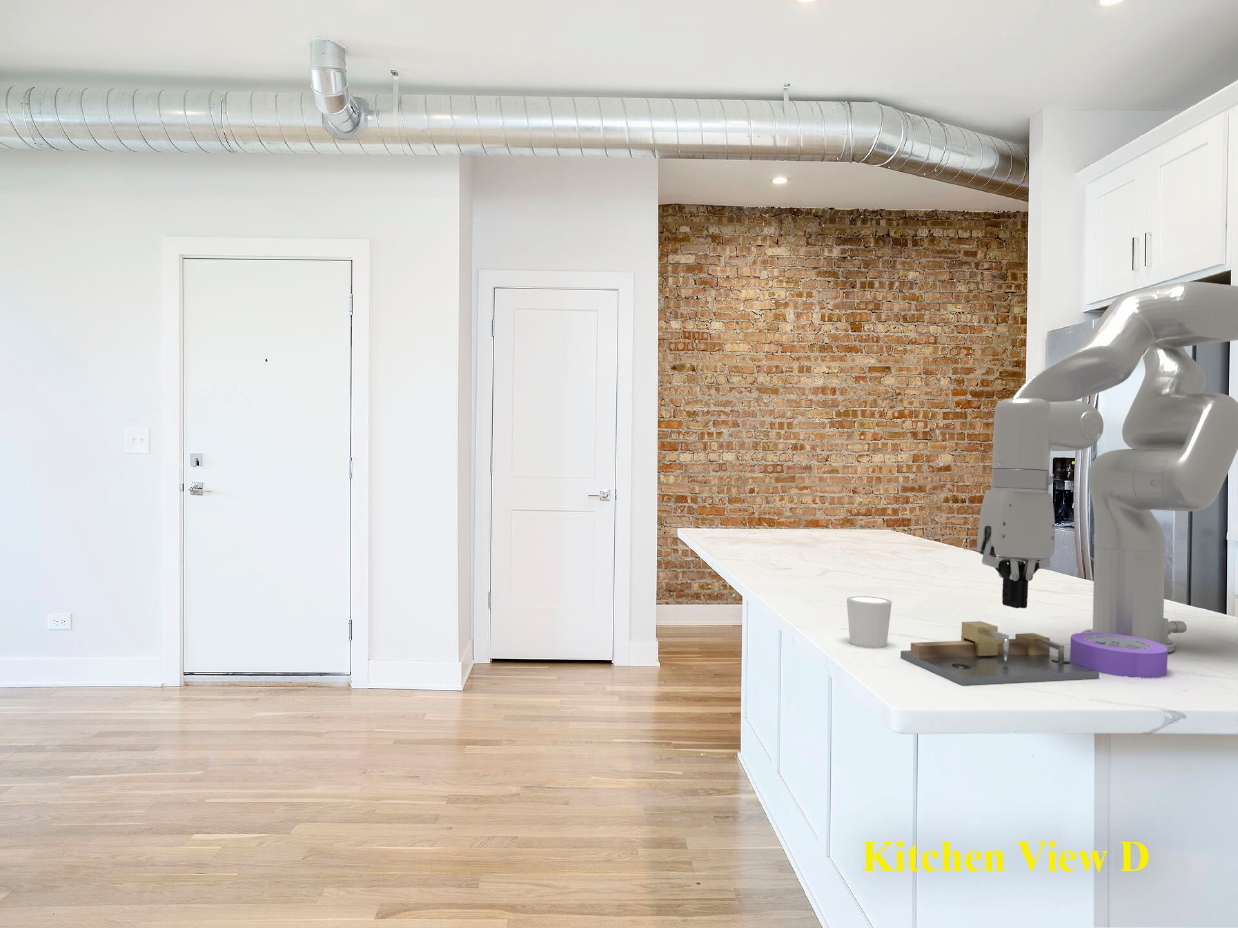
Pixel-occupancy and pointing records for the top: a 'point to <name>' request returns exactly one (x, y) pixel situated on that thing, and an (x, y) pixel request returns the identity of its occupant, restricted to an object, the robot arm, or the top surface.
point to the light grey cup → (868, 620)
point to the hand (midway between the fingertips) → (1014, 606)
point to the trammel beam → (1019, 645)
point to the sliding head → (985, 638)
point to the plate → (1003, 668)
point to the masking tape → (1119, 654)
